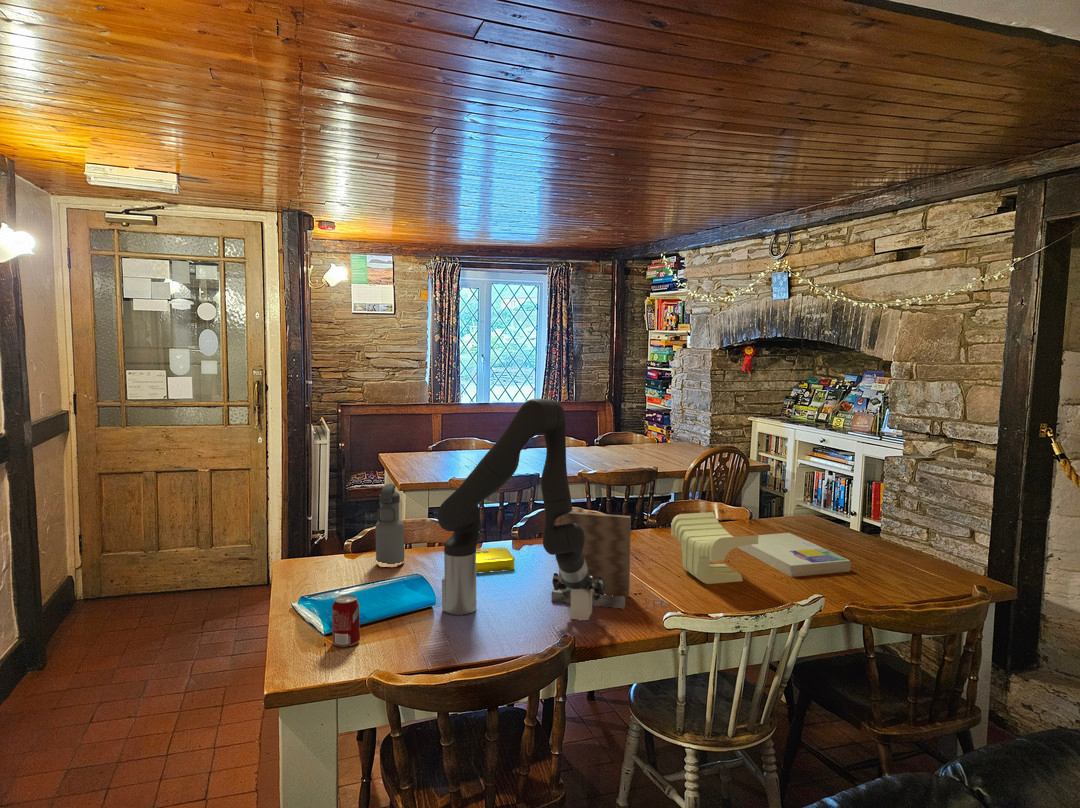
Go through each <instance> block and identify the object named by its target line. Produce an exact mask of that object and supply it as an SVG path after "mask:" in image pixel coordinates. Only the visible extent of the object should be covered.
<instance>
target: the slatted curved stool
mask: <svg viewBox="0 0 1080 808" xmlns="http://www.w3.org/2000/svg"><path fill="white" fill-rule="evenodd" d="M758 535H759V534H758ZM758 535H757V534H756V535H755V534H754V535H741V536H733V535H732V534H730V533H729V532H728V531H727V530H726V529H725V528H724V527H723V526H722V524H721V523H720V521H719V520H718V518H716V516H715V514H714V512H713V511H711V512H710V511H708V512H694V513H693V512H692V513H680V514H676V515H675V516H674V517H673V519H672V521H671V526H670V536H674V537H675V538H677V540H678V542H679V544H681V545H680V548H681V557H682V558H681V559H682V567H683V569H684V570H685V571H687V572H688V573H689V574H691V575H692V576H693V577H694V578H696V579H698V581H700V582H702V583H703V584H707V585H712V584H724V583H725V584H726V583H733V582H734V583H735V582H736V583H737V582H743V577H742V574H741V573H740V572H739V571H736V570H735V569H733V568H731V567H730V566H728V565H727V564H725V563H721V564H719V563H718V564H717V562H725V559H726V556H727V554H729V552H730V551H732V550H734V549H736V548H737V547H740V546H745V545H752V544H758ZM715 562H716V563H715ZM711 563H715V564H711Z"/></svg>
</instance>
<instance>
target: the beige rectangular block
mask: <svg viewBox="0 0 1080 808" xmlns="http://www.w3.org/2000/svg"><path fill="white" fill-rule="evenodd" d="M590 577H591V578H592V576H590ZM588 588H589V587H588ZM591 613H592V614H593V606H592V593H587V592H586V591H584V590H581V589H571V603H570V620H572V619H581V620H588V619H589V620H590V618H591V616H590V615H592V614H591ZM589 617H590V618H589ZM581 620H580V621H581ZM589 620H588V621H589Z"/></svg>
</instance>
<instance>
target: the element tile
mask: <svg viewBox="0 0 1080 808" xmlns="http://www.w3.org/2000/svg"><path fill="white" fill-rule="evenodd" d="M512 569H514V570H515V557H514V556H513V555H512V553H511V552H510V550H509V549H508V548H507V547H505V546H503V547H502V546H501V547H489V548H487V547H486V548H476V572H490V571H502V570H512ZM512 571H513V570H512Z"/></svg>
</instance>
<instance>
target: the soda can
mask: <svg viewBox="0 0 1080 808" xmlns="http://www.w3.org/2000/svg"><path fill="white" fill-rule="evenodd" d="M357 598H358V597H357V595H354V594H351V593H350V594H348V593H347V594H346V593H345V594H340V595H337V596H335V598H334V600H333V603H332V605H331V618H332V620H331V621H332V623H331V624H332V625H331V626H332V644H333V645H334V646H337V647H339V646H341V647H340V648H348V646H350V647H352V646H354V645H356V644H358V643H359V642H360V640H361V632H360V631H361V629H360V627H361V625H360V623H361V622H360V621H361V620H360V602H359V601H358V600H357Z"/></svg>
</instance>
